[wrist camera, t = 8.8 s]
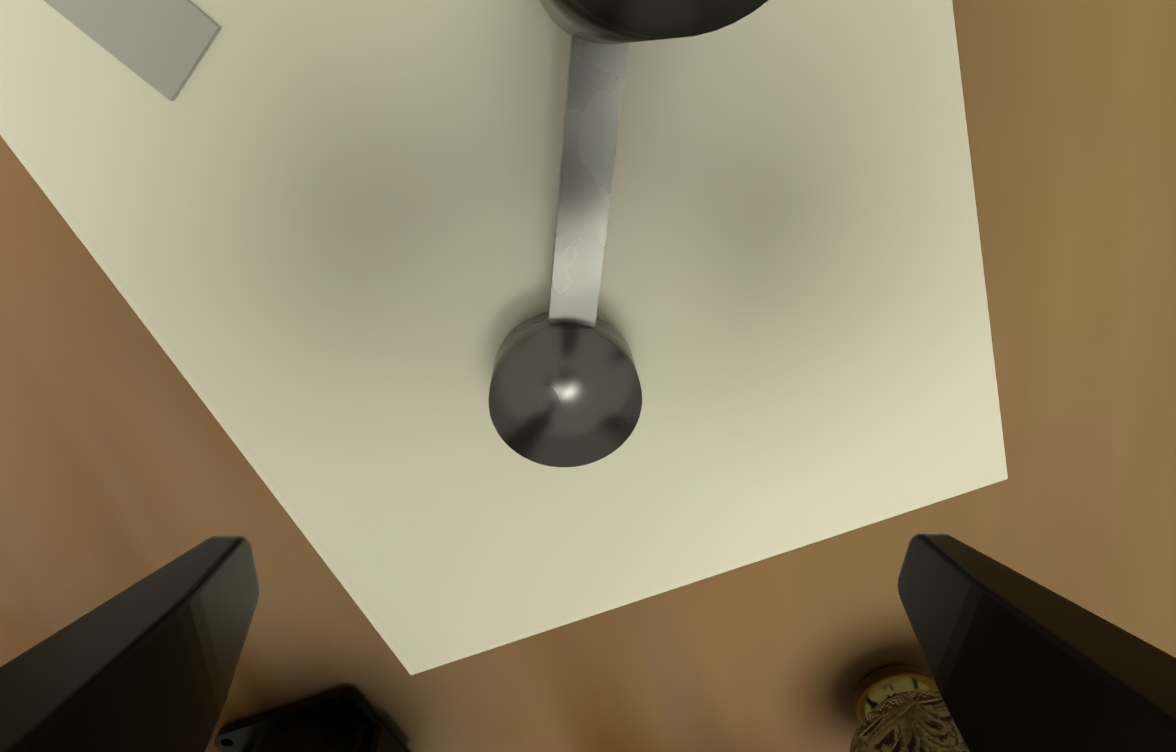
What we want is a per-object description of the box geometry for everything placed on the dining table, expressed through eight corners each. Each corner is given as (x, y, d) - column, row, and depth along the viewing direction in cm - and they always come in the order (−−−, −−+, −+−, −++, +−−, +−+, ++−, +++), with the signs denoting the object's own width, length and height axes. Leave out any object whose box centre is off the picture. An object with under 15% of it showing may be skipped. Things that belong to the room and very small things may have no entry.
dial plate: (420, 632, 26) (409, 680, 24) (-86, -73, 15) (-180, -91, 13) (972, 446, 24) (1011, 482, 22) (830, -554, 13) (881, -664, 11)
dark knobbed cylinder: (625, 440, 20) (679, 711, 12) (490, 432, 19) (448, 707, 11) (712, -140, 14) (956, -420, 5) (517, -168, 13) (469, -514, 5)
